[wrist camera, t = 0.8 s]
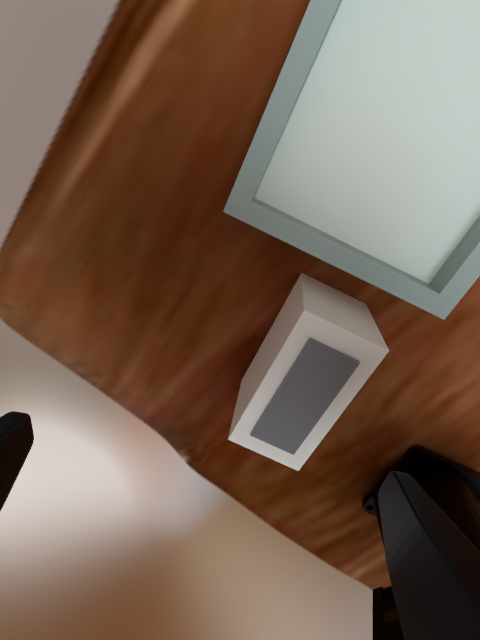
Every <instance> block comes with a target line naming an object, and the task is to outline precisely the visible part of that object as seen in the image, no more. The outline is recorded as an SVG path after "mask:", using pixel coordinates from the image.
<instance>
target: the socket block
mask: <svg viewBox="0 0 480 640" xmlns="http://www.w3.org/2000/svg"><path fill="white" fill-rule="evenodd" d="M388 352H389V349H388V347H387V345H386V343H385V341H384V339H383V337H382V335H381V333H380V331H379V329H378V327H377V325H376V323H375V321H374V319H373V317H372V315H371V313H370V311H369V309H368V307H367V305H366V304H365V303H363V302H361V301H359V300H357V299H355V298H353V297H351V296H349V295H347V294H345V293H343V292H341V291H338V290H336V289H334V288H332V287H330V286H328V285H326V284H324V283H322V282H320V281H318V280H316V279H314V278H312V277H310V276H307V275H305V274H303V273H301V274H300V276H299V278H298V280H297V282H296V283H295V285H294V287H293V289H292V291H291V292H290V294H289V296H288V298H287V300H286V301H285V303H284V305H283V307H282V309H281V310H280V312H279V314H278V316H277V318H276V319H275V321H274V323H273V325H272V327H271V328H270V330H269V332H268V334H267V336H266V337H265V339H264V341H263V343H262V345H261V346H260V348H259V350H258V352H257V354H256V355H255V357H254V359H253V361H252V363H251V364H250V366H249V368H248V370H247V372H246V373H245V375H244V377H243V379H242V381H241V385H240V390H239V394H238V398H237V403H236V407H235V411H234V416H233V420H232V424H231V429H230V433H229V437H228V440H230V441H232V442H235V443H237V444H239V445H241V446H244V447H246V448H248V449H250V450H252V451H255V452H257V453H259V454H261V455H264V456H266V457H268V458H270V459H273V460H275V461H277V462H279V463H281V464H284V465H286V466H288V467H290V468H293V469H295V470H297V471H299V470H300V468H301V467H302V466H303V464H304V463H305V462H306V460H307V459H308V458H309V457H310V455H311V454H312V453H313V451H314V450H315V449H316V447H317V446H318V445H319V443H320V442H321V441H322V439H323V438H324V437H325V435H326V434H327V433H328V431H329V430H330V429H331V427H332V426H333V425H334V423H335V422H336V421H337V419H338V418H339V417H340V415H341V414H342V413H343V411H344V410H345V409H346V407H347V406H348V405H349V403H350V402H351V401H352V400H353V398H354V397H355V396H356V394H357V393H358V392H359V390H360V389H361V388H362V386H363V385H364V384H365V382H366V381H367V380H368V378H369V377H370V376H371V374H372V373H373V372H374V370H375V369H376V368H377V366H378V365H379V364H380V362H381V361H382V360H383V358H384V357H385V356H386V354H387V353H388Z"/></svg>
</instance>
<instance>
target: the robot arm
mask: <svg viewBox="0 0 480 640" xmlns="http://www.w3.org/2000/svg"><path fill="white" fill-rule="evenodd" d="M33 440H34V435H33V429H32V424H31V418H30V416H29V415H28V414H26V413H21V412H9V413H7V414H5V415H3V416H2V417H0V510H1V509H2V507H3V505H4V503H5V501H6V499H7V497H8V495H9V493H10V491H11V489H12V487H13V484H14V482H15V480H16V478H17V476H18V474H19V472H20V470H21V468H22V466H23V464H24V462H25V459H26V457H27V455H28V453H29V451H30V449H31V447H32V444H33ZM417 454H420V455H417ZM362 505H363V509H364V511H366V512H368V513H370V514H372V515H374V516H377V518H378V523H379V527H380V531H381V535H382V540H383V544H384V548H385V555H386V561H387V566H388V571H389V576H390V580H391V584H392V586H389V587H386V588H383V587H380V588H376V589H373V640H480V474H478V473H476V472H474V471H472V470H470V469H468V468H465V467H463V466H461V465H459V464H457V463H455V462H452V461H450V460H448V459H446V458H444V457H442V456H439V455H437V454H435V453H433V452H431V451H429V450H426V449H424V448H422V447H419V446H417V447H413V448H411V449H410V450H409V451H408V452H407V453H406V454H405V455H404V456H403V457H402V459H401V460H400V461H399V462H398V463H397V464H396V465H395V466H394V467H393V468H392V469H391V470H390V471H389V472H388V474H387V475H386V476H385V477H384V478H383V479H382V480H381V481H380V482H379V483H378V484H377V485H376V487H375V488H374V489H373V490H372V491H371V492H370V493H369V494H368V495H367V496H366V497H365V499H364V500H363V501H362Z"/></svg>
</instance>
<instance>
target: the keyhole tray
mask: <svg viewBox="0 0 480 640" xmlns="http://www.w3.org/2000/svg"><path fill="white" fill-rule="evenodd" d="M223 212H224V213H227V214H229V215H231V216H233V217H235V218H237V219H239V220H241V221H243V222H245V223H247V224H249V225H251V226H253V227H255V228H257V229H259V230H261V231H263V232H265V233H267V234H270V235H272V236H274V237H276V238H278V239H280V240H282V241H284V242H286V243H288V244H290V245H292V246H294V247H296V248H298V249H300V250H302V251H304V252H306V253H308V254H311V255H313V256H315V257H317V258H319V259H321V260H323V261H325V262H327V263H329V264H331V265H333V266H335V267H337V268H339V269H341V270H343V271H345V272H347V273H349V274H351V275H354V276H356V277H358V278H360V279H362V280H364V281H366V282H368V283H370V284H372V285H374V286H376V287H378V288H380V289H382V290H384V291H386V292H388V293H390V294H392V295H394V296H397V297H399V298H401V299H403V300H405V301H407V302H409V303H411V304H413V305H415V306H417V307H419V308H421V309H423V310H425V311H427V312H429V313H431V314H433V315H435V316H437V317H440V318H442V319H444V320H445V318H446V317H447V316H448V315H449V313H450V312H451V311H452V310H453V308H454V307H455V306H456V305H457V303H458V302H459V301H460V300H461V298H462V297H463V296H464V295H465V293H466V292H467V291H468V290H469V288H470V287H471V286H472V285H473V283H474V282H475V281H476V280H477V278H478V277H479V276H480V0H310V3H309V5H308V8H307V10H306V12H305V15H304V17H303V20H302V22H301V24H300V27H299V29H298V32H297V34H296V37H295V39H294V41H293V44H292V46H291V49H290V51H289V53H288V56H287V58H286V61H285V63H284V65H283V68H282V70H281V73H280V75H279V78H278V80H277V82H276V85H275V87H274V90H273V92H272V94H271V97H270V99H269V102H268V104H267V107H266V109H265V111H264V114H263V116H262V119H261V121H260V123H259V126H258V128H257V131H256V133H255V135H254V138H253V140H252V143H251V145H250V148H249V150H248V152H247V155H246V157H245V160H244V162H243V164H242V167H241V169H240V172H239V174H238V177H237V179H236V181H235V184H234V186H233V189H232V191H231V193H230V196H229V198H228V201H227V203H226V206H225V208H224V210H223Z"/></svg>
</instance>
